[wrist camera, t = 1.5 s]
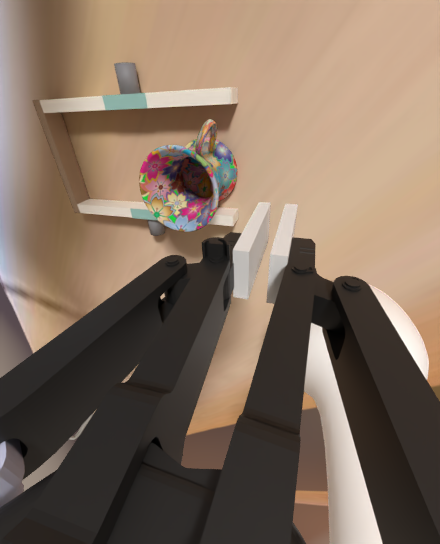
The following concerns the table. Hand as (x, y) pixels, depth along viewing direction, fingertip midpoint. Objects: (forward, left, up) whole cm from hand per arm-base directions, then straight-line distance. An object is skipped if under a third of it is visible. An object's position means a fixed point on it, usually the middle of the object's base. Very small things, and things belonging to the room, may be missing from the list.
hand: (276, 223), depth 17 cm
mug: (0, -11, -20) cm, 23 cm away
